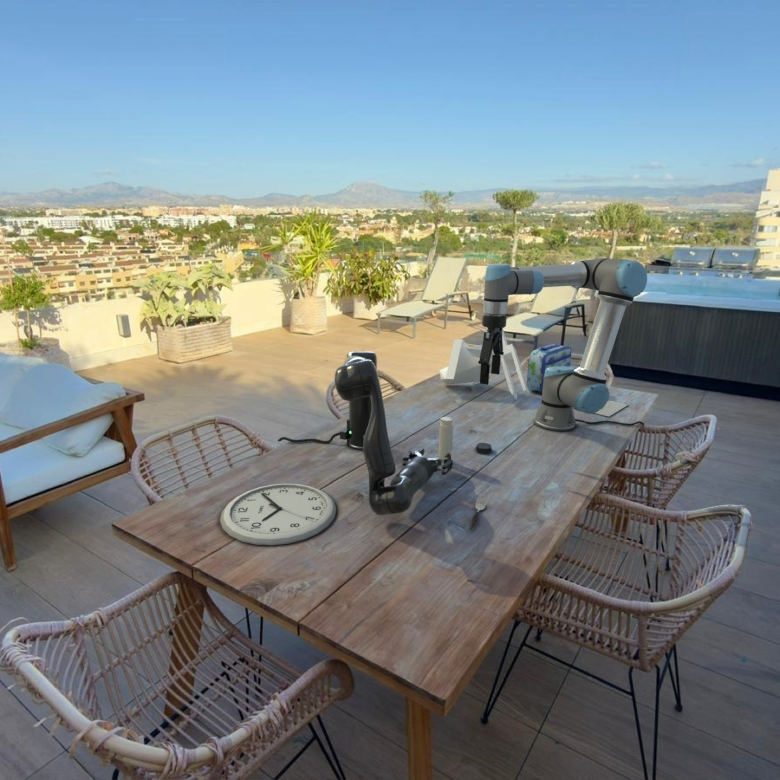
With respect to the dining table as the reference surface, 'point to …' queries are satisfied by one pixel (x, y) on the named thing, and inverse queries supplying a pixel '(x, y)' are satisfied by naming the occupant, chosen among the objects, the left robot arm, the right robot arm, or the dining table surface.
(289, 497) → the wall clock
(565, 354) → the lunch box
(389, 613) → the dining table surface
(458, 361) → the white plastic object
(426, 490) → the dining table surface
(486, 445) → the lid
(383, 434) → the left robot arm
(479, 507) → the fork
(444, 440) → the jar
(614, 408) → the invitation card
